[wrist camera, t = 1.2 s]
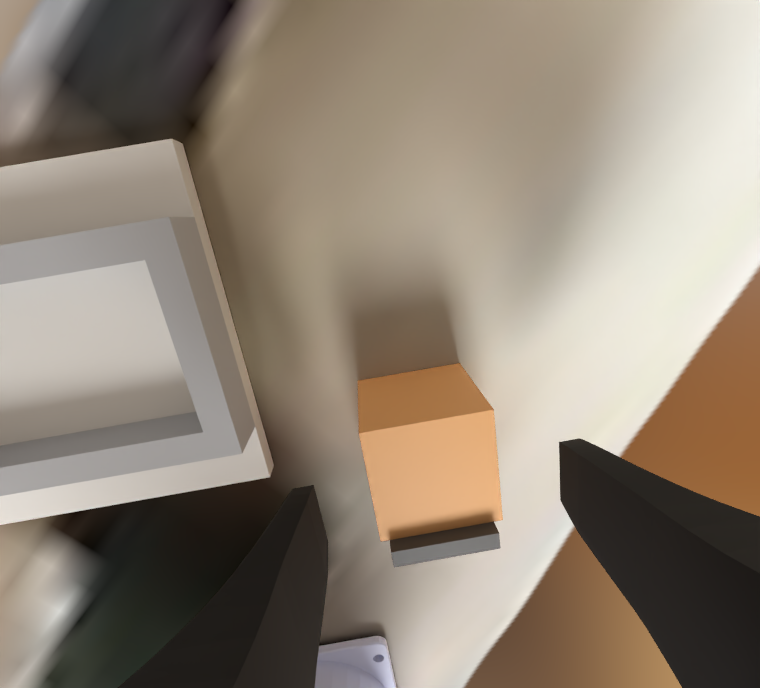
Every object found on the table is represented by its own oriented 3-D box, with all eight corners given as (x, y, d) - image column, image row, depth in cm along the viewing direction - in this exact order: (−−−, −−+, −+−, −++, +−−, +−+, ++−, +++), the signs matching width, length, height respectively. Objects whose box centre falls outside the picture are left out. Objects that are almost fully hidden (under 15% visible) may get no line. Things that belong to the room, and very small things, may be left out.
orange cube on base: (459, 362, 15) (499, 417, 11) (470, 463, 17) (509, 546, 13) (357, 380, 15) (358, 442, 11) (376, 480, 17) (384, 568, 13)
